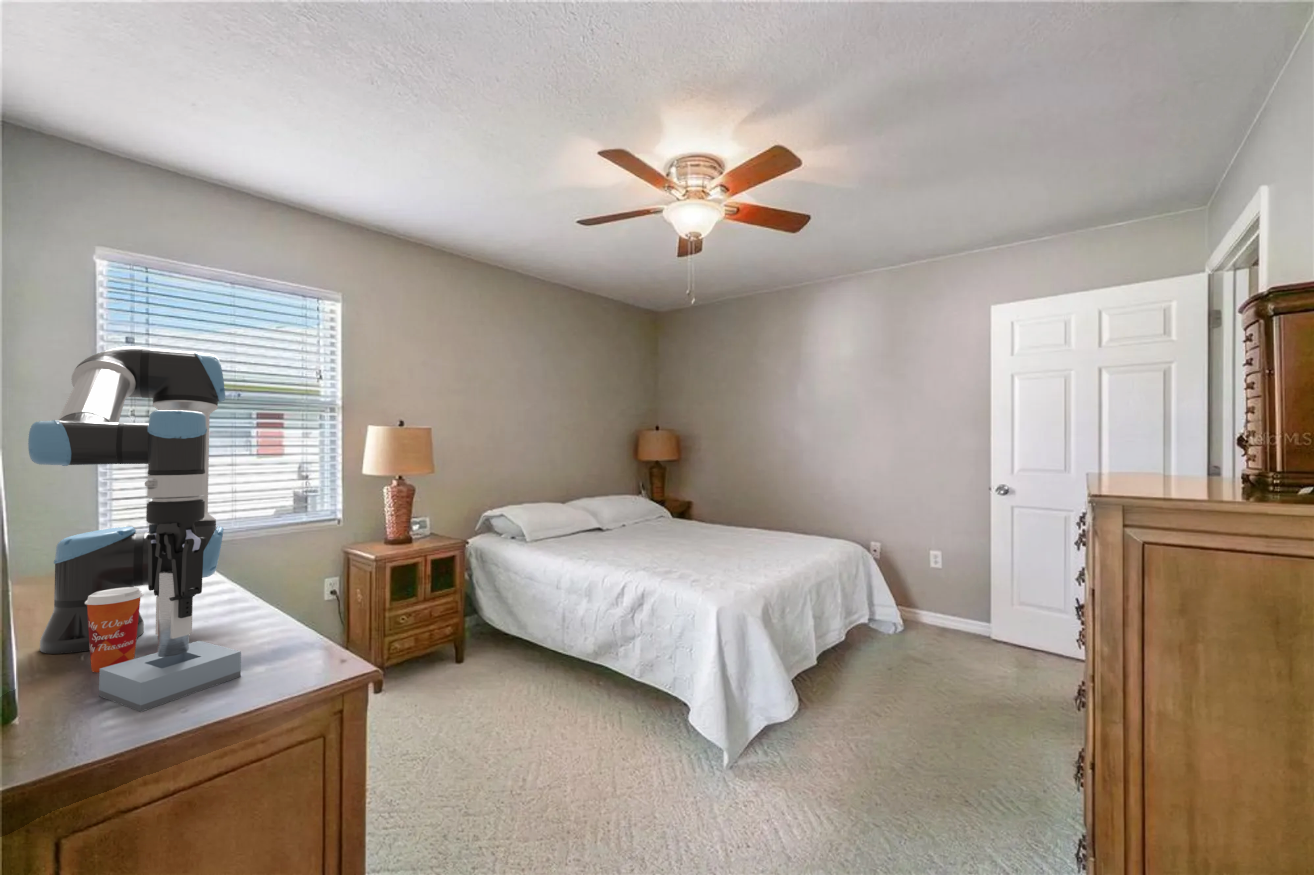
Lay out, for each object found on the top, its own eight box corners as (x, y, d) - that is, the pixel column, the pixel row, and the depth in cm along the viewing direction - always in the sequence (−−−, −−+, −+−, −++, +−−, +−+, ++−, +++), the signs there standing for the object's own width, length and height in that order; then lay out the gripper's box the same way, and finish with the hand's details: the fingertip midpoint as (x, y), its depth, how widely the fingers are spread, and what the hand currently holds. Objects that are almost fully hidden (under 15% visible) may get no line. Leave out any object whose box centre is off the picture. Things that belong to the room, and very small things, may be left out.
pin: (152, 654, 91) (154, 572, 91) (181, 646, 95) (182, 567, 95) (165, 658, 89) (167, 574, 90) (193, 650, 93) (195, 570, 93)
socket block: (98, 695, 88) (99, 668, 88) (199, 664, 101) (199, 640, 101) (140, 711, 83) (141, 682, 83) (240, 676, 96) (241, 651, 96)
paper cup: (74, 678, 95) (76, 599, 95) (94, 662, 102) (96, 589, 102) (133, 670, 98) (134, 594, 99) (149, 655, 105) (150, 584, 105)
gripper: (122, 498, 92) (119, 634, 92) (177, 503, 86) (174, 648, 85) (175, 495, 99) (173, 621, 99) (230, 499, 93) (227, 633, 92)
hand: (173, 633), depth 92 cm, fingers closed on pin, 4 cm apart
